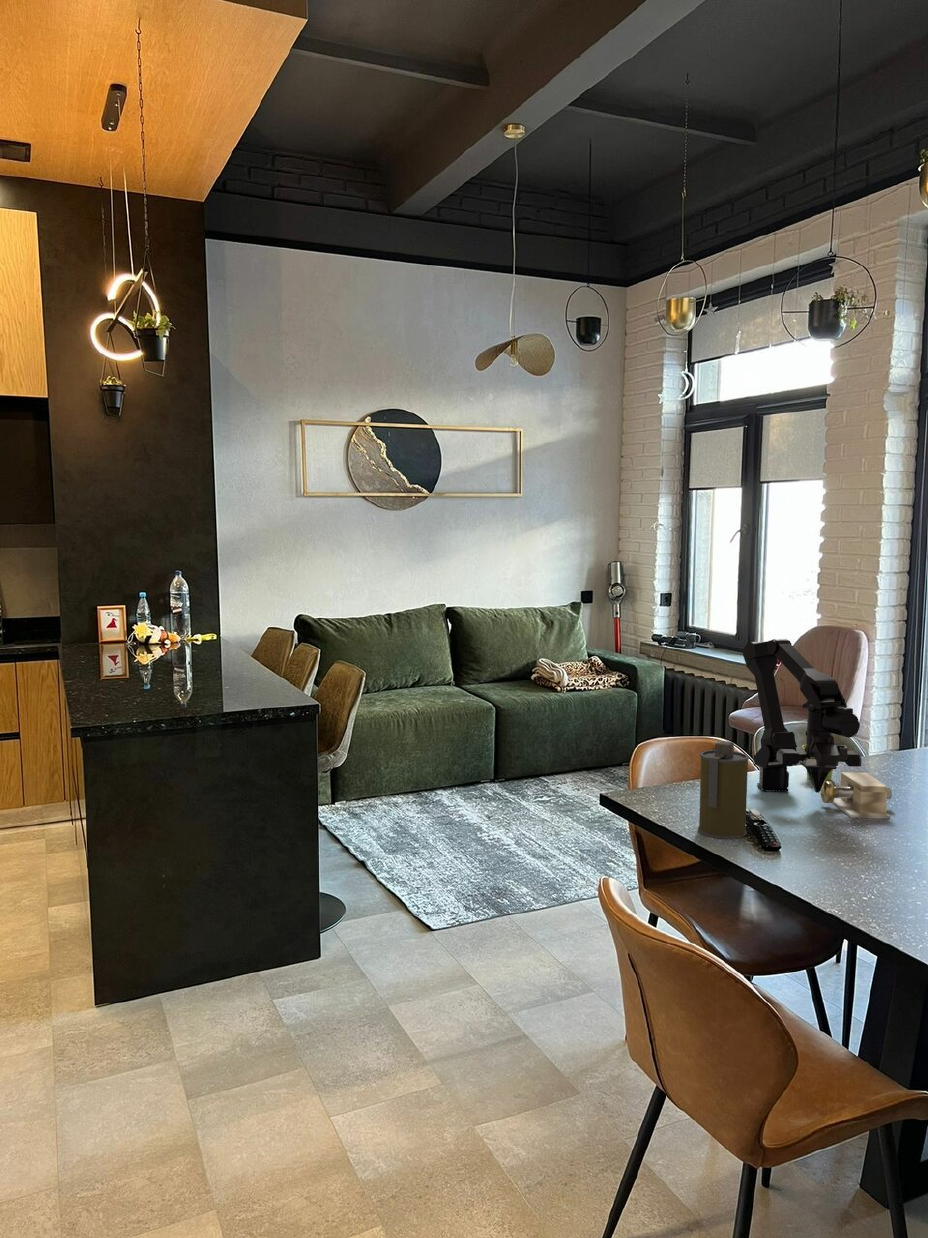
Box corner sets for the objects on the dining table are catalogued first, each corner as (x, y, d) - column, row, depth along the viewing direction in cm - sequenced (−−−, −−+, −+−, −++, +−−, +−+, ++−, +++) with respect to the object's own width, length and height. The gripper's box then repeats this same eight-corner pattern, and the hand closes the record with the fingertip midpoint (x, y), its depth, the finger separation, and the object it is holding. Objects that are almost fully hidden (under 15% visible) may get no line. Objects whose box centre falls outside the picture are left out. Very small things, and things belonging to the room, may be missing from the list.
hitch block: (851, 817, 212) (852, 788, 211) (824, 796, 230) (825, 769, 229) (890, 818, 211) (891, 789, 211) (860, 797, 229) (861, 770, 229)
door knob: (827, 805, 218) (828, 784, 218) (820, 799, 223) (820, 779, 223) (893, 806, 217) (894, 785, 217) (884, 801, 223) (885, 780, 222)
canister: (709, 821, 208) (712, 736, 206) (753, 831, 201) (756, 742, 200) (689, 833, 200) (691, 744, 198) (734, 843, 193) (737, 751, 191)
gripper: (790, 735, 212) (787, 800, 213) (871, 737, 211) (868, 802, 212) (776, 726, 223) (774, 788, 224) (854, 727, 222) (851, 790, 223)
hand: (817, 792), depth 221 cm, fingers closed
